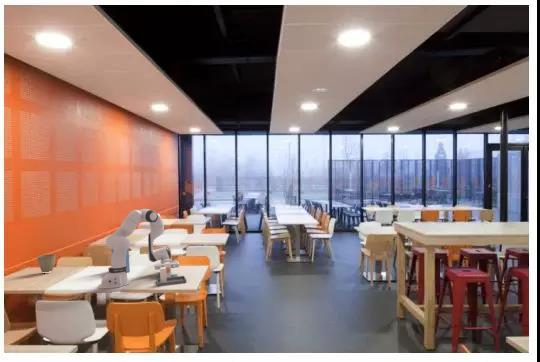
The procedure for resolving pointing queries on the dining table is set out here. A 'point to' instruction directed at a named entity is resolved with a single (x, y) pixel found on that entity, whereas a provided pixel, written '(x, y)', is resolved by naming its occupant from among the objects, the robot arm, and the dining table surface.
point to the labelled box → (168, 269)
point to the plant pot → (46, 262)
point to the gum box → (126, 259)
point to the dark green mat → (171, 276)
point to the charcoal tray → (172, 281)
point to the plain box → (163, 275)
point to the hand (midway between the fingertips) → (167, 267)
